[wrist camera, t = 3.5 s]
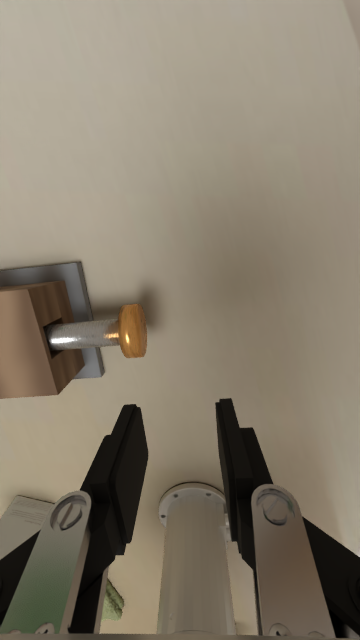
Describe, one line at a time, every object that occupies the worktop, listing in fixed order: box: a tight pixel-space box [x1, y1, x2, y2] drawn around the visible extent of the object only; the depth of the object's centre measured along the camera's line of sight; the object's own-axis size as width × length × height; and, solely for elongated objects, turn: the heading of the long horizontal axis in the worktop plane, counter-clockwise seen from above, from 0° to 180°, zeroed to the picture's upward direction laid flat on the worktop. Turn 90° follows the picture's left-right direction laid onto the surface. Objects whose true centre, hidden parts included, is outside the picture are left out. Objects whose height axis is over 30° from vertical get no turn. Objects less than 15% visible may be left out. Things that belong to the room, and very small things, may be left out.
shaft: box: [43, 304, 147, 358], centre depth 27 cm, size 20×6×6 cm, turn 96°
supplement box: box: [0, 496, 54, 560], centre depth 37 cm, size 7×7×13 cm
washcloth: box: [101, 579, 124, 622], centre depth 48 cm, size 13×18×3 cm
